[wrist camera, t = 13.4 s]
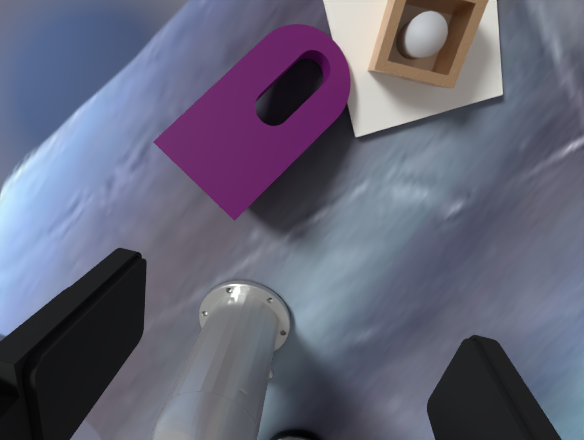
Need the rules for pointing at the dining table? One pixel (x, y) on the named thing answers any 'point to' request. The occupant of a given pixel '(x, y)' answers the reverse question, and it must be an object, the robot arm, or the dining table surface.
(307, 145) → the mounting bracket
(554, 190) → the dining table surface
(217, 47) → the dining table surface
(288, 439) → the supplement container
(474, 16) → the open wooden box
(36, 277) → the dining table surface
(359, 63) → the flange
